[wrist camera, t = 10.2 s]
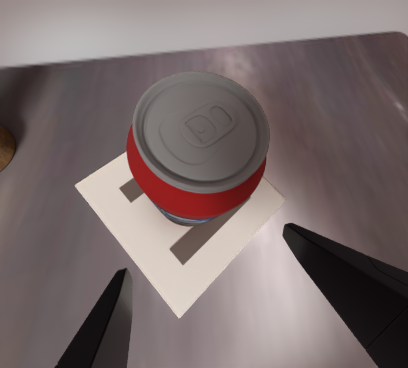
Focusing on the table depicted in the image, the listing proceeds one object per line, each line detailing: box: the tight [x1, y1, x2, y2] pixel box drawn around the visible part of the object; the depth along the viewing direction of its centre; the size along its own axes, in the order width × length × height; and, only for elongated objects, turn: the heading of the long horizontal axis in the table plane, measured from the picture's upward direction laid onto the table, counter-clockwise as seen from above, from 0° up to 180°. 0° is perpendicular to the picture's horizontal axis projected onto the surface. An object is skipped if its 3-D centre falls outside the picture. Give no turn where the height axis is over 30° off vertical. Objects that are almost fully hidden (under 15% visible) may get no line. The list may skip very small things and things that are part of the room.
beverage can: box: [127, 71, 270, 227], centre depth 12 cm, size 7×7×12 cm
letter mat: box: [75, 151, 286, 319], centre depth 18 cm, size 16×16×1 cm
